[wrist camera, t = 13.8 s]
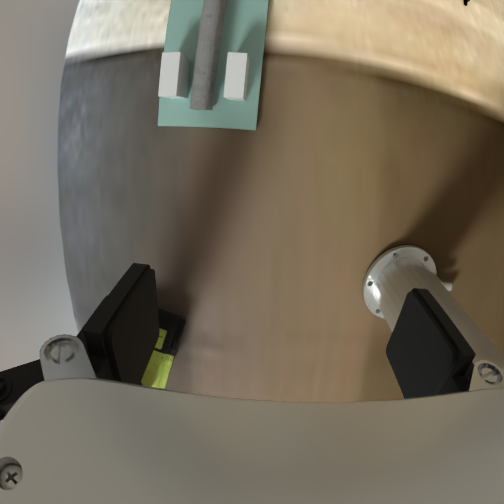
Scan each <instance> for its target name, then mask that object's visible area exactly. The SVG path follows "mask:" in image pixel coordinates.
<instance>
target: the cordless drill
mask: <svg viewBox="0 0 504 504" xmlns="http://www.w3.org/2000/svg"><path fill="white" fill-rule="evenodd" d="M158 318H159V329H160V332H159V338H158V341H157V343H156V346H155V348H154V351H153V353H152V355H151V358H150V360H149V363H148V365H147V368H146V370H145V373H144V375H143V378H142V380H141V383H140V385H142V386H148V387H155V388H158V387H160V388H163V389H165V385H166V382H167V379H168V376H169V373H170V370H171V367H172V364H173V361H174V357H175V354H176V351H177V347H178V344H179V341H180V338H181V334H182V331H183V328H184V325H185V322H186V321H185V320H182V319H180V317H179V316H177V315H174V314H171V313H168V312H165V311H163V310H160V309H158Z"/></svg>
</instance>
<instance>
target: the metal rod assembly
mask: <svg viewBox="0 0 504 504" xmlns="http://www.w3.org/2000/svg"><path fill="white" fill-rule="evenodd" d="M226 3H227V0H204V2H203V8H202V15H201V21H200V28H199V35H198V42H197V49H196V57H195V65H194V74H193V82H192V92H191V102H190V109H195V110H211V111H212V108H213V99H214V90H215V82H216V74H217V66H218V58H219V50H220V43H221V36H222V29H223V22H224V16H225V9H226Z"/></svg>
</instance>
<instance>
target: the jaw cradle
mask: <svg viewBox="0 0 504 504" xmlns="http://www.w3.org/2000/svg"><path fill="white" fill-rule="evenodd" d="M203 2H204V0H171V4H170V11H169V17H168V24H167V31H166V39H165V47H164V53H162V61H161V71H160V81H159V94H158V96H160V100H159V116H158V126H191V127H215V128H231V129H245V130H256V124H257V114H258V103H259V93H260V82H261V72H262V62H263V52H264V42H265V32H266V22H267V12H268V2H269V0H227V3H226V9H225V16H224V22H223V29H222V36H221V43H220V50H219V58H218V66H217V74H216V82H215V90H214V99H213V108H212V111H211V110H195V109H190V102H191V92H192V82H193V74H194V65H195V57H196V49H197V42H198V35H199V28H200V21H201V15H202V8H203Z"/></svg>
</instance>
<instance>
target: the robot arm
mask: <svg viewBox="0 0 504 504" xmlns="http://www.w3.org/2000/svg"><path fill="white" fill-rule="evenodd" d="M362 290H363V297H364V301H365V303H366V305H367V307H368V308H369V310H370V311H371V312H372V313H373V314H375V315H376V316H378V317H381V318H385V320H386V321H387V323H388V325H389V327H390V329H391V331H392V335H391V337H390V340H389V342H388V344H387V348H386V354H387V357H388V359H389V362H390V364H391V366H392V369H393V371H394V374H395V376H396V378H397V381H398V383H399V386H400V388H401V391H402V393H403V396H404V398H405V399H393V400H378V401H357V402H288V401H267V400H251V399H239V398H228V397H218V396H209V395H201V394H193V393H186V392H179V391H173V390H166V389H160V388H155V387H148V386H142V385H140V383H141V380H142V378H143V375H144V373H145V370H146V368H147V365H148V363H149V360H150V358H151V355H152V353H153V351H154V348H155V346H156V343H157V341H158V338H159V332H160V329H159V318H158V307H157V295H156V280H155V271H154V269H150V266H149V265H147V264H138V263H133V264H132V265H131V267H130V268H129V269H128V270H127V272H126V273H125V274H124V275H123V277H122V278H121V279H120V281H119V282H118V283H117V285H116V286H115V287H114V288H113V290H112V291H111V292H110V294H109V295H108V296H106V297H105V298H104V299H103V301H102V302H101V303H100V305H99V306H98V307H97V309H96V310H95V311H94V313H93V314H92V316H91V317H90V318H89V320H88V321H87V322H86V324H85V325H84V327H83V328H82V329H81V331H80V332H79V334H78V335H77V336H72V335H65V334H64V335H57V336H55V337H52V338H50V339H49V340H47V341H46V342H45V343H44V344H43V345H42V347H41V349H40V359H39V360H36V361H33V362H30V363H27V364H23V365H20V366H17V367H14V368H11V369H8V370H5V371H1V372H0V504H504V355H503V354H502V353H501V352H500V351H499V350H498V349H497V348H496V347H495V346H494V344H493V343H492V342H491V341H490V340H489V339H488V337H487V336H486V335H485V334H484V333H483V331H482V330H481V329H480V328H479V327H478V325H477V324H476V323H475V322H474V320H473V319H472V318H471V317H470V316H469V315H468V314H467V312H466V311H465V310H464V309H463V307H462V306H461V305H460V304H459V303H458V302H457V300H456V299H455V298H454V297H453V296H452V295H451V293H450V292H449V291H451V290H452V283H450V282H442V281H441V280H440V279H439V278H438V276H437V272H436V266H435V263H434V261H433V259H432V258H431V256H430V255H429V254H428V253H427V252H426V251H424V250H423V249H422V248H420V247H417V246H413V245H401V246H397V247H394V248H392V249H390V250H388V251H386V252H384V253H383V254H382V255H380V256H379V257H378V258H377V259H376V260H375V261H374V262H373V263H372V265H371V266H370V267H369V269H368V271H367V273H366V275H365V278H364V281H363V288H362Z"/></svg>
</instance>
